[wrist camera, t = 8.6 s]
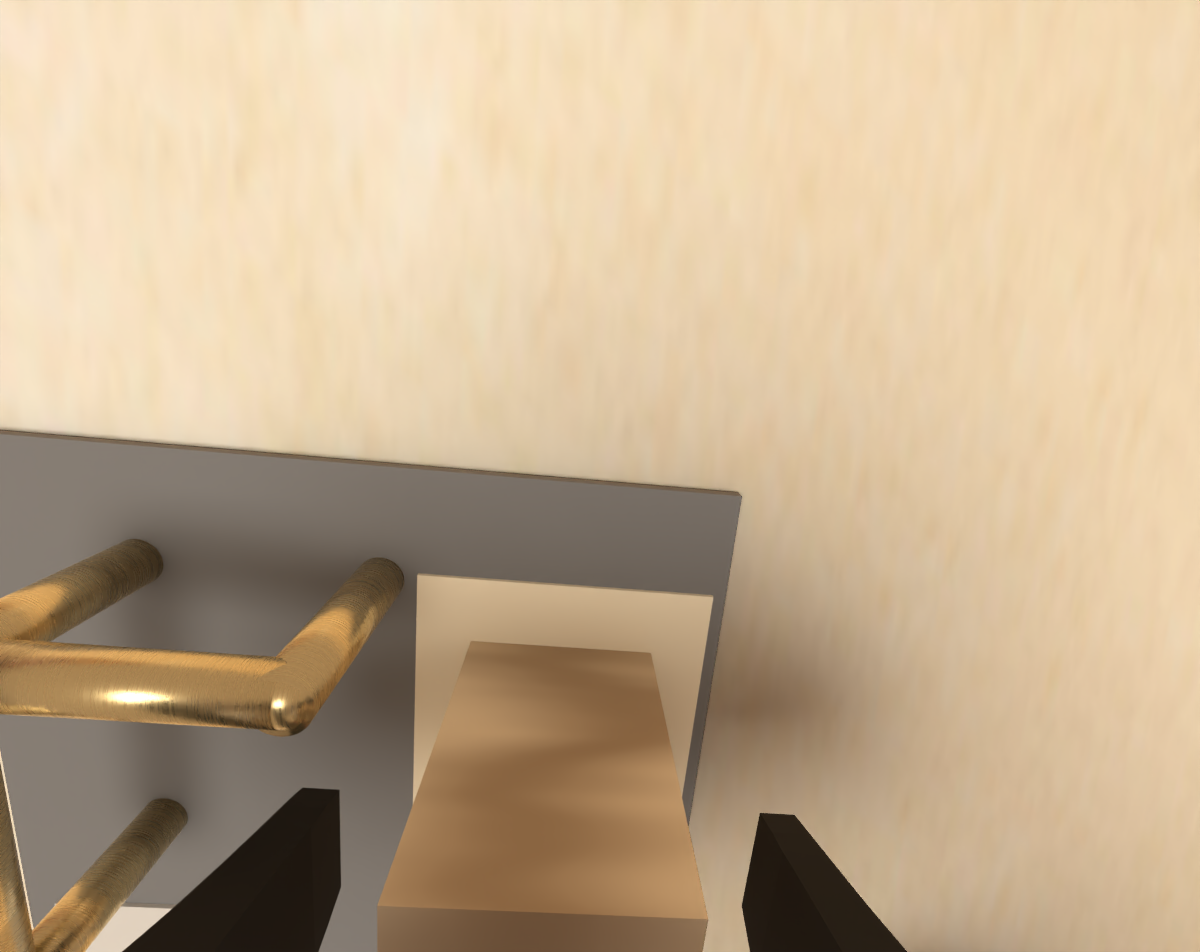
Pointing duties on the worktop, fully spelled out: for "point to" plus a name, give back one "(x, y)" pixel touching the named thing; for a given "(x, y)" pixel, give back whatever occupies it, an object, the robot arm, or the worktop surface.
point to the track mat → (288, 602)
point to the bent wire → (153, 707)
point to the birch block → (547, 815)
